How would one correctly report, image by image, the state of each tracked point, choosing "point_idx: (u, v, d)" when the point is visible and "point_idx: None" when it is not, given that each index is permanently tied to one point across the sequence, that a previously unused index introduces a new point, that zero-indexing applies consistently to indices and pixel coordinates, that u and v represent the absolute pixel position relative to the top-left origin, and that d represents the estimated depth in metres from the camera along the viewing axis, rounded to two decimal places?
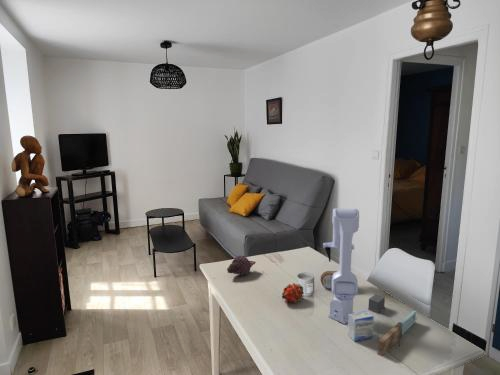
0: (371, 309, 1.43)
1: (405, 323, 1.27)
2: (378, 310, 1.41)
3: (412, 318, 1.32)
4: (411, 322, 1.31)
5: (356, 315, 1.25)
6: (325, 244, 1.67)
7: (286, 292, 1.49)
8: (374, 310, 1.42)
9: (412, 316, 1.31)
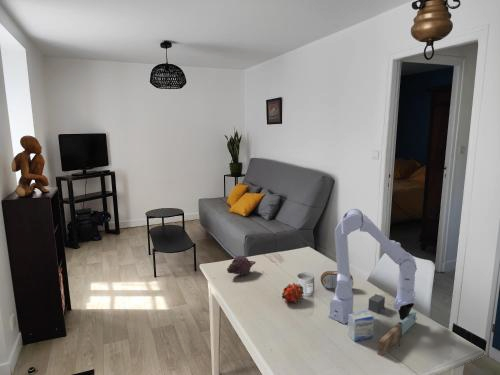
0: (371, 309, 1.43)
1: (405, 323, 1.27)
2: (378, 310, 1.41)
3: (412, 318, 1.32)
4: (411, 322, 1.31)
5: (356, 315, 1.25)
6: None
7: (286, 292, 1.49)
8: (374, 310, 1.42)
9: (412, 316, 1.31)
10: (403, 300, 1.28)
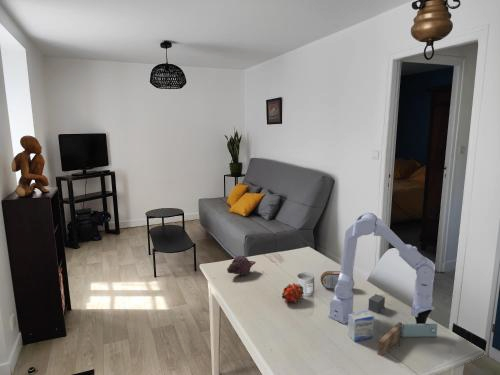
0: (371, 309, 1.43)
1: (410, 327, 1.25)
2: (378, 309, 1.41)
3: (428, 329, 1.25)
4: (425, 332, 1.25)
5: (356, 315, 1.25)
6: None
7: (286, 292, 1.49)
8: (374, 310, 1.42)
9: (427, 327, 1.24)
10: (421, 306, 1.24)
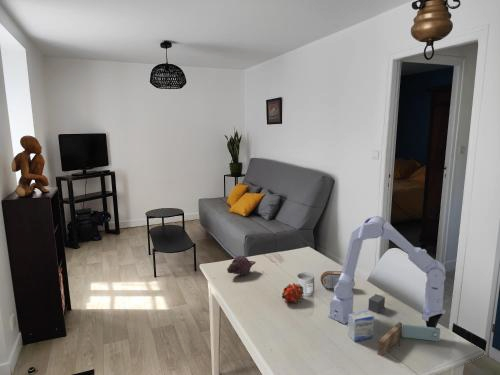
0: (371, 309, 1.43)
1: (410, 329, 1.24)
2: (378, 310, 1.41)
3: (430, 333, 1.22)
4: (427, 336, 1.23)
5: (356, 315, 1.25)
6: None
7: (286, 292, 1.49)
8: (374, 310, 1.42)
9: (429, 330, 1.22)
10: (431, 310, 1.21)
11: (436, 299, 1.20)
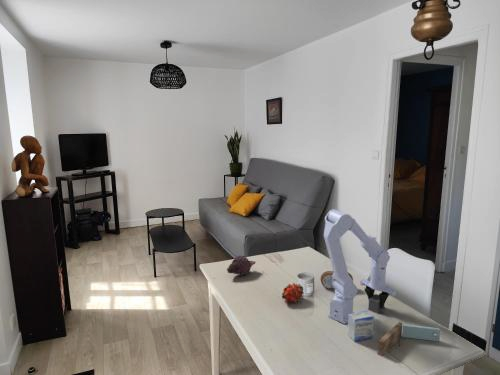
0: (371, 309, 1.43)
1: (410, 329, 1.24)
2: (378, 309, 1.41)
3: (430, 333, 1.22)
4: (427, 336, 1.23)
5: (356, 315, 1.25)
6: (363, 281, 1.47)
7: (286, 292, 1.49)
8: (374, 310, 1.42)
9: (429, 330, 1.22)
10: (384, 286, 1.41)
11: (384, 277, 1.40)
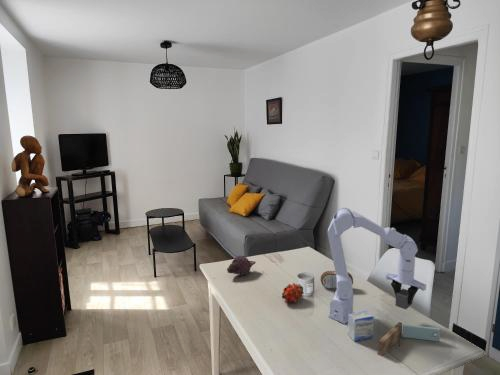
0: (399, 305, 1.32)
1: (410, 329, 1.24)
2: (406, 305, 1.31)
3: (430, 333, 1.22)
4: (427, 336, 1.23)
5: (356, 315, 1.25)
6: (389, 275, 1.36)
7: (286, 292, 1.49)
8: (402, 306, 1.31)
9: (429, 330, 1.22)
10: (413, 280, 1.30)
11: (410, 271, 1.28)
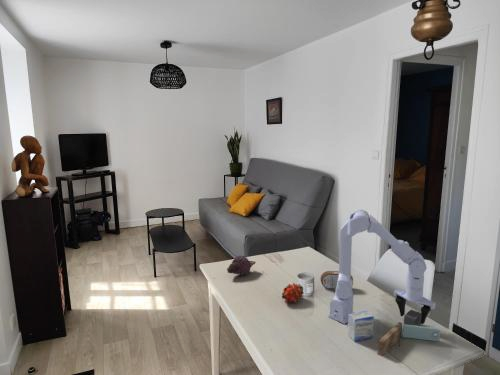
0: None
1: (410, 329, 1.24)
2: None
3: (430, 333, 1.22)
4: (427, 336, 1.23)
5: (356, 315, 1.25)
6: (397, 292, 1.34)
7: (286, 292, 1.49)
8: None
9: (429, 330, 1.22)
10: (422, 298, 1.28)
11: (418, 289, 1.26)
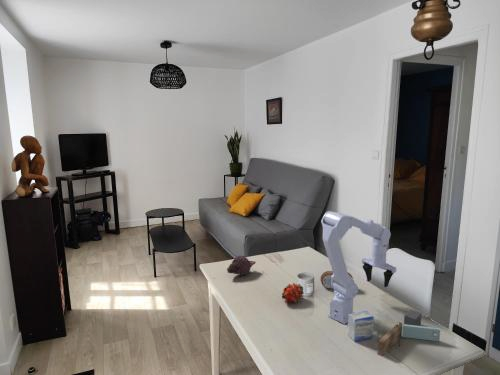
0: None
1: (410, 329, 1.24)
2: None
3: (430, 333, 1.22)
4: (427, 336, 1.23)
5: (356, 315, 1.25)
6: (365, 259, 1.50)
7: (286, 292, 1.49)
8: None
9: (429, 330, 1.22)
10: (385, 264, 1.44)
11: (385, 254, 1.43)
